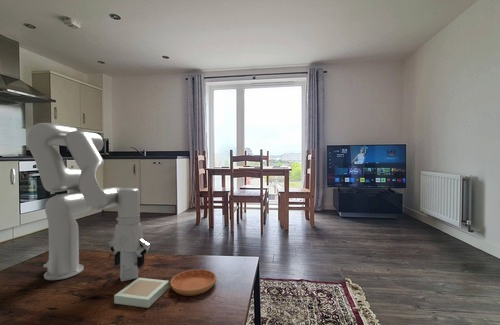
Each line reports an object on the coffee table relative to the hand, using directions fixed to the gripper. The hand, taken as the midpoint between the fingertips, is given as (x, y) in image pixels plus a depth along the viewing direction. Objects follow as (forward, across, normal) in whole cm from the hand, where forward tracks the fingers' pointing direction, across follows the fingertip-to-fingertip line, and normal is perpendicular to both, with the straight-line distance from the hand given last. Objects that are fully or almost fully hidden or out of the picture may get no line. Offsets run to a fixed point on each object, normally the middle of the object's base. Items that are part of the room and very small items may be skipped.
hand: (129, 264), depth 95 cm
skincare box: (+5, 0, 0) cm, 5 cm away
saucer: (+5, +27, -1) cm, 28 cm away
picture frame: (+5, +13, -10) cm, 17 cm away
